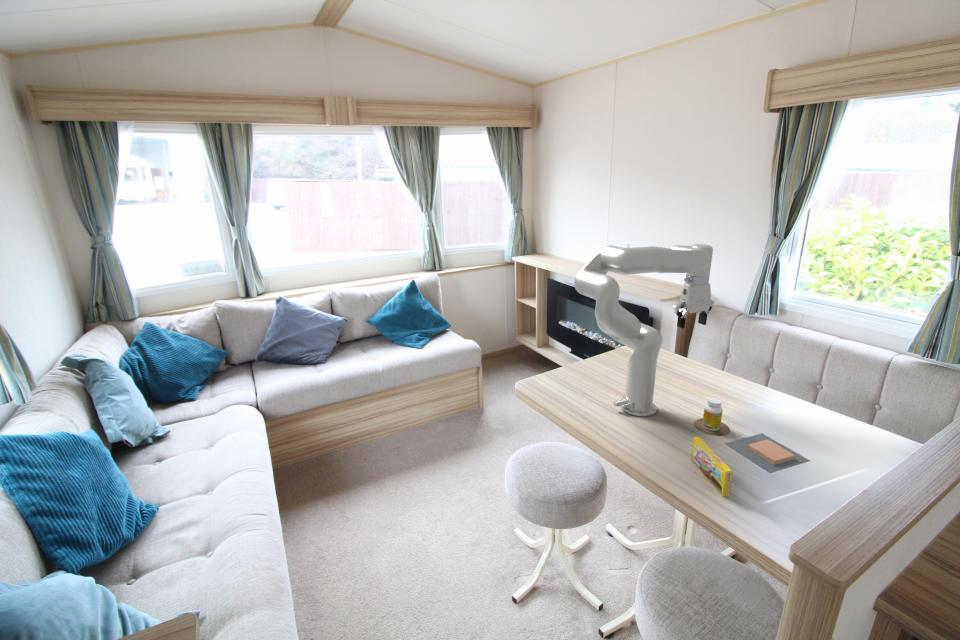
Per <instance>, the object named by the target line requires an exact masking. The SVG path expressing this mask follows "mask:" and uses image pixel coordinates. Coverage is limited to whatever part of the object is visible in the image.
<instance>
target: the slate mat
mask: <svg viewBox="0 0 960 640" xmlns="http://www.w3.org/2000/svg"><path fill="white" fill-rule="evenodd" d="M767 439H768V440H770V441H771V442H773V443H775V444H776V445H778V446H780V447H782V448H783V449H785V450H787V451H789V452H790V453H792V454H794V455H795V457H794V460H791V461H788V462H785V463H781V464H778V465H775V466H773V465H772V464H770V463H769V462H767V461H765V460H764V459H762V458H761V457H759V456H757V455H756V454H754V453H753V452H751V451H749V450H748V449H747V447H748V444H752V443H756V442H759V441H763V440H767ZM723 444H724V445H725V446H728V447H729V448H730V449H732V450H733V451H735V452H736V453H738V454H740V455H741V456H743V457H744V458H746V459H747V460H749V461H751V462H752V463H753V464H754V465H757V466H758V467H760V468H761V469H762V470H765V471H766V472H767V473H769V474H771V473H775V472H778V471H781V470H784V469H788V468H792V467H795V466H797V465H801V464H804V463H808V462H811V460H810V459H809V458H807V457H804V456H803V455H801V454H800V453H798V452H796V451H794V450H792V449H791V448H789V447H787V446H785V445H784V444H782V443H781V442H778V441H777V440H775V439H773V438H771V437H769V436H767V434H764V433H758V434H754V435H751V436H748V437H742V438H739V439H736V440H731V441H728V442H723Z"/></svg>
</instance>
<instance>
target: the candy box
mask: <svg viewBox="0 0 960 640" xmlns="http://www.w3.org/2000/svg"><path fill="white" fill-rule="evenodd" d="M692 440H693V441H692V450H691V462H692V463H693V465H695V467H696V468H697V467H698V468H697V469H698V470H699V471H700V472H701V473H702V474H703V476H704V477H705V478H706V480H708V481H709V482H710V484H711V485H712V487H714V489H715V490H716V491H718V493H719V494H720V495H721V496H722V497H723V498H724V497H727V498H728V497H729V496H730V490H731V489H730V488H731V483H732V482H731V481H732V473H733V470H732V469H731V468H730V467H729V466H728V464H727V463H725V461H723V460H722V459H721V458H720V457H719V456H718V454H717V453H715V452H714V450H713V449H712V448H710V447H709V445H708V444H707V443H706V442H705V441H704V440H703V439H702V438H701V437H700V436H696V437H695V436H694V437H693V439H692Z"/></svg>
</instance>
